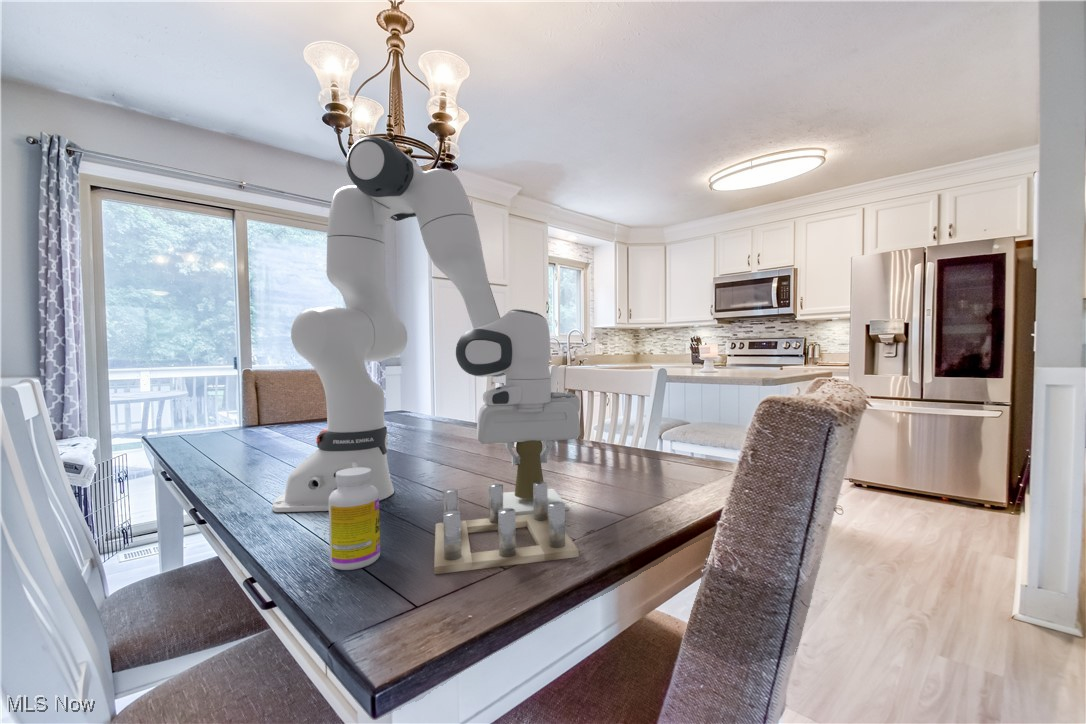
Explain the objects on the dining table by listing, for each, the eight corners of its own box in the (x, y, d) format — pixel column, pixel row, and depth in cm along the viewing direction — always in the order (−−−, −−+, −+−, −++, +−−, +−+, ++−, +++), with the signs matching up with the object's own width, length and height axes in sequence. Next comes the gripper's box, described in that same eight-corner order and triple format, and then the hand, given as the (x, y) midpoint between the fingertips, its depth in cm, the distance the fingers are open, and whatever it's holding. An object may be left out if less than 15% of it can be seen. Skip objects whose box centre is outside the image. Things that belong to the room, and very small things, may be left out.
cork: (546, 489, 91) (545, 435, 91) (543, 499, 85) (542, 440, 85) (517, 489, 91) (516, 434, 91) (512, 498, 85) (511, 440, 85)
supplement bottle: (384, 564, 63) (382, 472, 63) (332, 576, 60) (330, 480, 59) (375, 547, 69) (374, 463, 69) (327, 557, 65) (325, 469, 65)
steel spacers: (444, 564, 60) (443, 520, 60) (443, 523, 75) (442, 487, 75) (569, 550, 64) (568, 508, 64) (544, 513, 79) (544, 479, 79)
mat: (504, 516, 81) (504, 512, 81) (496, 496, 93) (496, 493, 93) (568, 510, 84) (568, 506, 84) (553, 491, 95) (552, 488, 95)
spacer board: (434, 574, 60) (434, 566, 60) (435, 529, 75) (435, 523, 75) (578, 556, 64) (578, 549, 64) (551, 517, 80) (551, 512, 80)
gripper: (574, 390, 93) (575, 457, 93) (475, 393, 89) (476, 463, 89) (584, 392, 87) (585, 464, 87) (477, 396, 82) (478, 471, 83)
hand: (529, 463), depth 88 cm, fingers closed on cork, 4 cm apart
